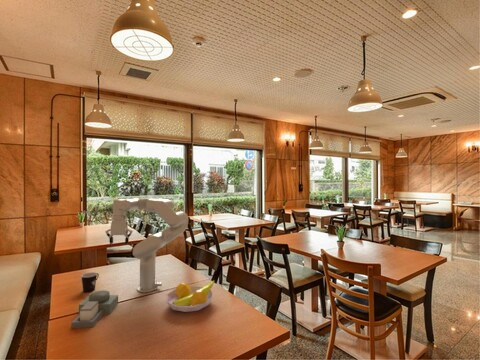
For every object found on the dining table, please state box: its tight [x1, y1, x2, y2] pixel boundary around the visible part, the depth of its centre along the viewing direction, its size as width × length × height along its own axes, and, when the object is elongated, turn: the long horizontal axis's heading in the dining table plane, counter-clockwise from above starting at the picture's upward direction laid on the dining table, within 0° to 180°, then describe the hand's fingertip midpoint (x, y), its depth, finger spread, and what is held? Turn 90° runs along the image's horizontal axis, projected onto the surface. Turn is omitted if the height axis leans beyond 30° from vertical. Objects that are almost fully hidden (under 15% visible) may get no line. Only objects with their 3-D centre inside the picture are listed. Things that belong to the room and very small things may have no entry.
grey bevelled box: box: [79, 301, 98, 321], centre depth 133 cm, size 5×8×7 cm, turn 4°
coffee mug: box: [80, 271, 100, 294], centre depth 169 cm, size 12×9×10 cm
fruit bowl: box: [165, 280, 215, 313], centre depth 150 cm, size 28×27×11 cm
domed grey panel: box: [70, 289, 119, 329], centre depth 138 cm, size 16×24×8 cm
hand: (119, 243), depth 174 cm, fingers open, 9 cm apart
